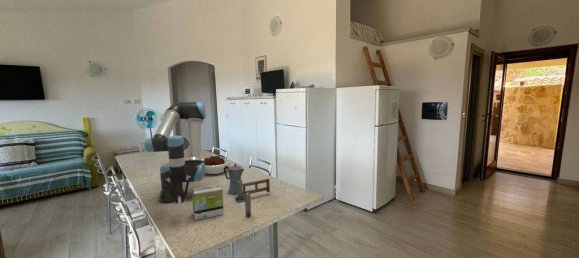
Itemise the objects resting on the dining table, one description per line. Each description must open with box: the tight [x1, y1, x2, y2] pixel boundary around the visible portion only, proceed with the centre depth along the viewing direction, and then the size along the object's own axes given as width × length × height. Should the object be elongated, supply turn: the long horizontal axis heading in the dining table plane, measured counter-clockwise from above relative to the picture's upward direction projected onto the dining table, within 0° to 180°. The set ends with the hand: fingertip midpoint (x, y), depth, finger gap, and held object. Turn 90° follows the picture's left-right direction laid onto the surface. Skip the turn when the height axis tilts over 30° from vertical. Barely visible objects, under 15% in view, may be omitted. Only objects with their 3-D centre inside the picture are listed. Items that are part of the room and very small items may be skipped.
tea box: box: [191, 184, 224, 221], centre depth 137 cm, size 15×10×15 cm
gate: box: [242, 178, 271, 198], centre depth 160 cm, size 2×18×9 cm, turn 119°
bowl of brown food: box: [203, 155, 230, 175], centre depth 213 cm, size 25×25×15 cm
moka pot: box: [223, 163, 245, 195], centre depth 168 cm, size 10×15×20 cm, turn 78°
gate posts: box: [234, 179, 252, 218], centre depth 145 cm, size 6×27×13 cm, turn 22°
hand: (180, 208), depth 132 cm, fingers closed
